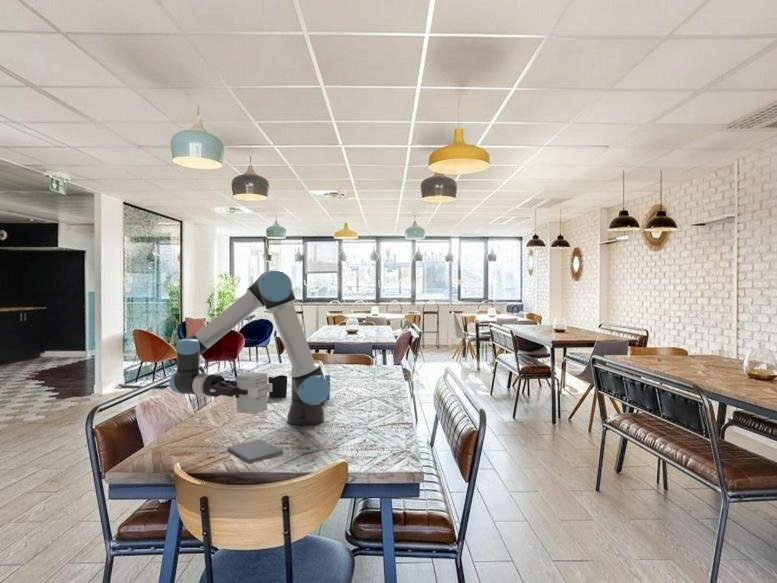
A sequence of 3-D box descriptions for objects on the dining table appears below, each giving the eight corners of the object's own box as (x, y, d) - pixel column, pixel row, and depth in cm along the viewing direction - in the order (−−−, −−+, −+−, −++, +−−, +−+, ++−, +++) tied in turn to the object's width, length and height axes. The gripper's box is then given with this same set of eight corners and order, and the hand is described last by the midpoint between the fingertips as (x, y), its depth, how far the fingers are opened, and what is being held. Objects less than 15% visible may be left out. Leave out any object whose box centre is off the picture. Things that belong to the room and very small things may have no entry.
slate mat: (227, 449, 159) (227, 446, 159) (260, 441, 167) (260, 439, 167) (249, 462, 147) (249, 459, 147) (283, 453, 156) (283, 450, 156)
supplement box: (236, 413, 155) (235, 375, 154) (250, 407, 161) (250, 371, 161) (254, 415, 152) (254, 376, 152) (268, 409, 159) (268, 372, 159)
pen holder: (284, 398, 232) (284, 378, 232) (266, 398, 232) (266, 378, 232) (289, 394, 242) (289, 375, 242) (271, 394, 242) (271, 375, 242)
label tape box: (324, 397, 235) (324, 373, 234) (330, 399, 232) (330, 374, 232) (311, 401, 228) (311, 376, 228) (317, 402, 225) (317, 377, 225)
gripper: (229, 389, 172) (281, 394, 164) (187, 402, 154) (244, 408, 145) (229, 369, 172) (281, 373, 164) (187, 379, 153) (244, 384, 145)
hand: (264, 390), depth 155 cm, fingers closed on supplement box, 7 cm apart
